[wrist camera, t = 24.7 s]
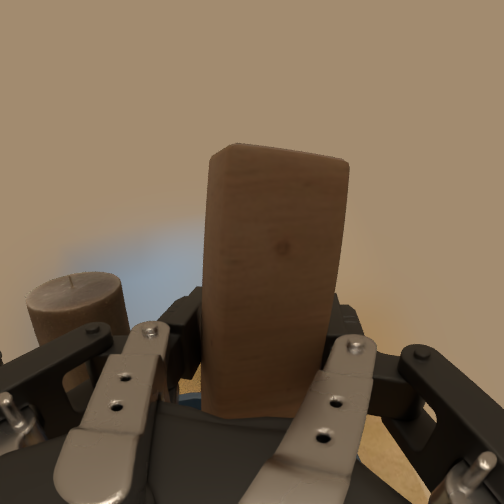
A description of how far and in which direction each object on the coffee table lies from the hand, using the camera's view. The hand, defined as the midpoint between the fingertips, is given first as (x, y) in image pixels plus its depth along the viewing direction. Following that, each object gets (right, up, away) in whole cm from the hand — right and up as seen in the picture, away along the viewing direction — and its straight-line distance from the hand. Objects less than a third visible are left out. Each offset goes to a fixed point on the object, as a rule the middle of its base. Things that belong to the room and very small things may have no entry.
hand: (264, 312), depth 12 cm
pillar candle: (-16, -14, +14) cm, 26 cm away
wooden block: (0, -10, 0) cm, 10 cm away
